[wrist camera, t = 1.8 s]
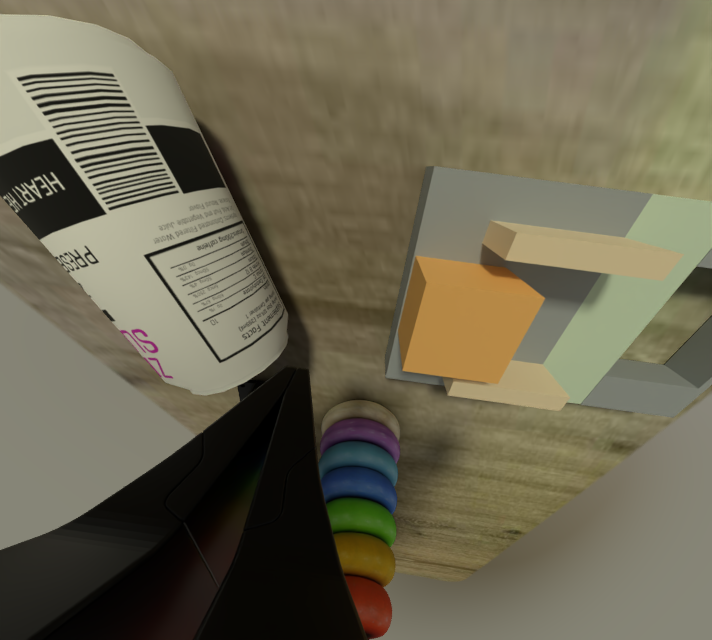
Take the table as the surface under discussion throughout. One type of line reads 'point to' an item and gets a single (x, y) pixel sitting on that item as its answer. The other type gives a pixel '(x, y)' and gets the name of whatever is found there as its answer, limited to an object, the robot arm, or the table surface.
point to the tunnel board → (570, 285)
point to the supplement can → (133, 201)
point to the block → (464, 319)
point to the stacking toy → (362, 502)
